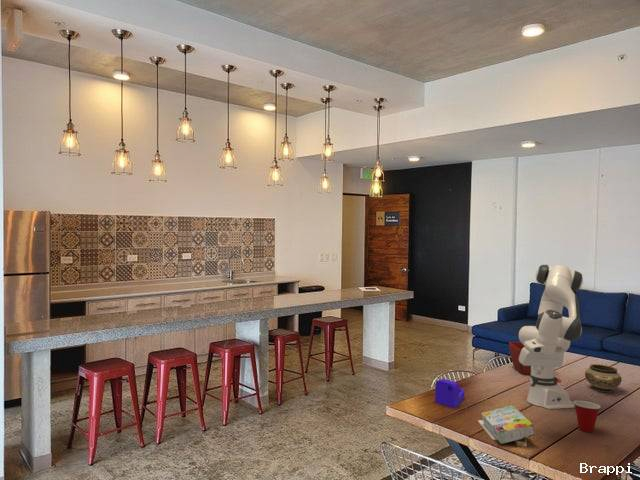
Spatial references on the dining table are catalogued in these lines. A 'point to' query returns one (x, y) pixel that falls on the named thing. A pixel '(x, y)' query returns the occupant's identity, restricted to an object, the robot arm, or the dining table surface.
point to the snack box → (507, 424)
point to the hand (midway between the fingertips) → (537, 374)
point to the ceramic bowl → (603, 377)
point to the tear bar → (521, 442)
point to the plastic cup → (586, 415)
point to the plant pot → (515, 353)
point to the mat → (487, 430)
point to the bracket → (448, 393)
